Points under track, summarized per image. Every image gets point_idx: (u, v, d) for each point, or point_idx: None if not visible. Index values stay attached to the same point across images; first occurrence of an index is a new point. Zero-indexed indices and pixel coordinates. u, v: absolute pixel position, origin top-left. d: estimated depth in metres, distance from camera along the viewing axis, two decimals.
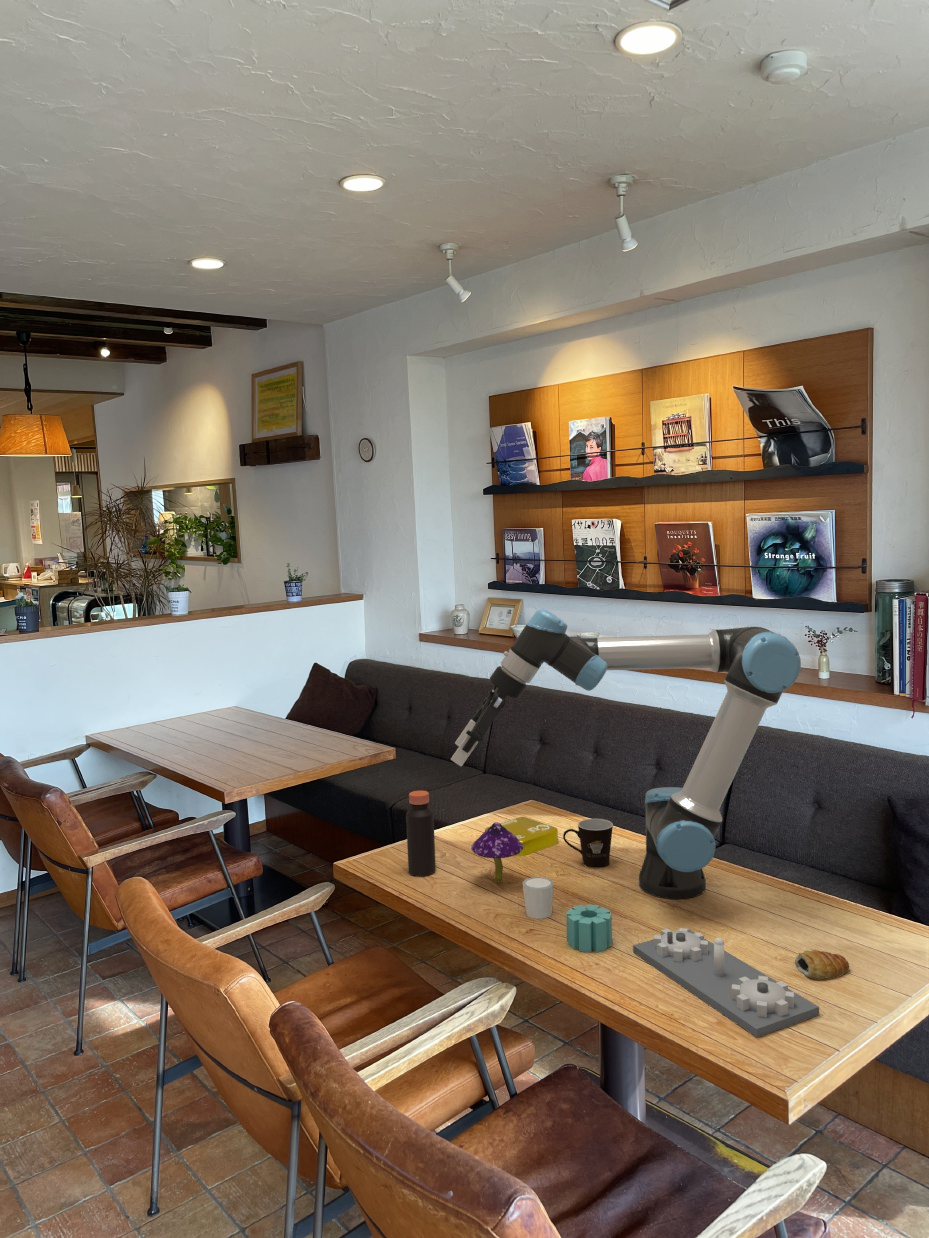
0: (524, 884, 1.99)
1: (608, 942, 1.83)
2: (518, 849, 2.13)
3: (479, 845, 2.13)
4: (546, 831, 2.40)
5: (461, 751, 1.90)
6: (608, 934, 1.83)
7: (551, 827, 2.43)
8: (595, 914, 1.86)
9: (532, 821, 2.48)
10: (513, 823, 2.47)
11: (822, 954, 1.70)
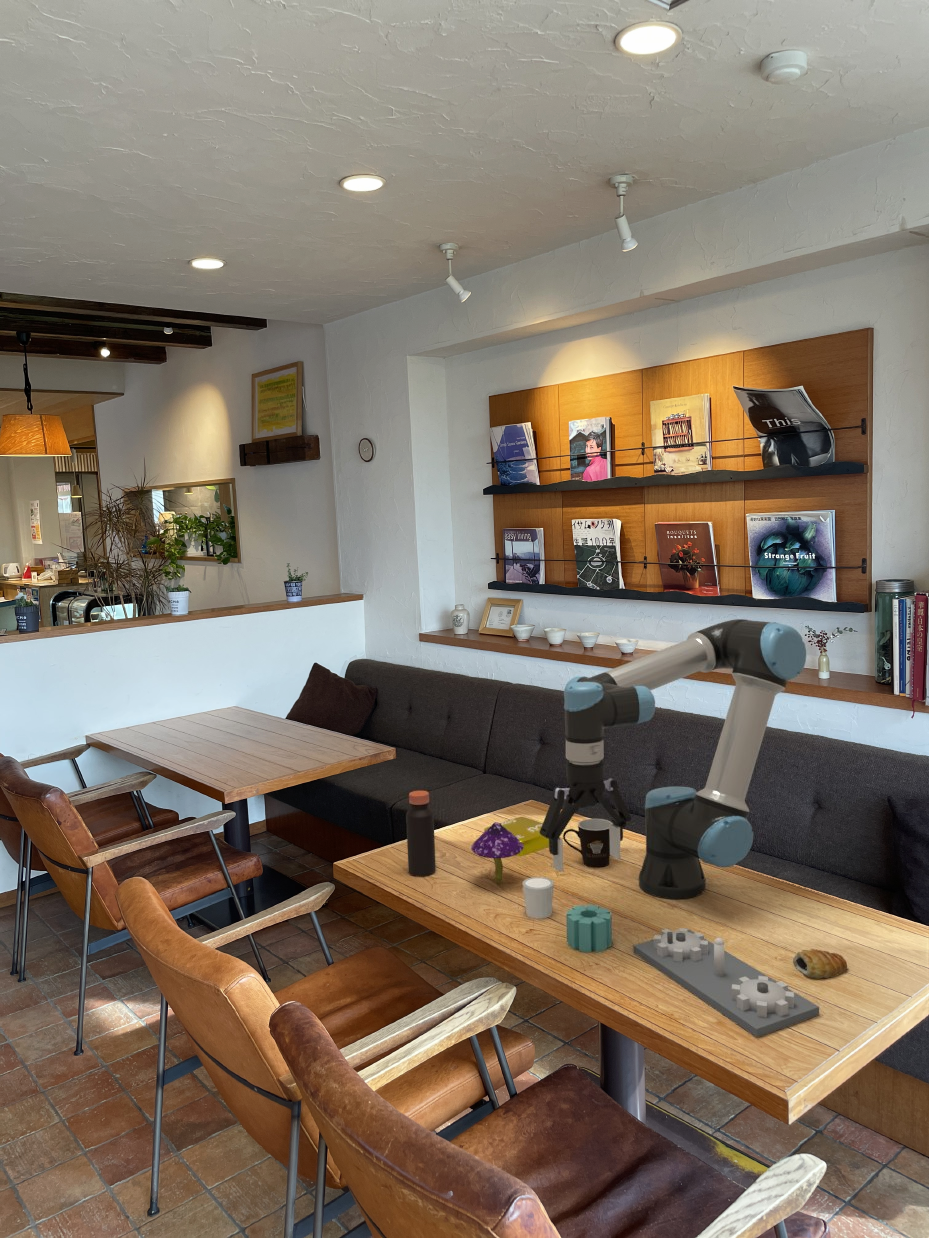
0: (524, 884, 1.99)
1: (608, 942, 1.83)
2: (518, 849, 2.13)
3: (479, 845, 2.13)
4: None
5: None
6: (608, 934, 1.83)
7: None
8: (595, 914, 1.86)
9: (531, 821, 2.48)
10: (512, 823, 2.47)
11: (820, 953, 1.71)
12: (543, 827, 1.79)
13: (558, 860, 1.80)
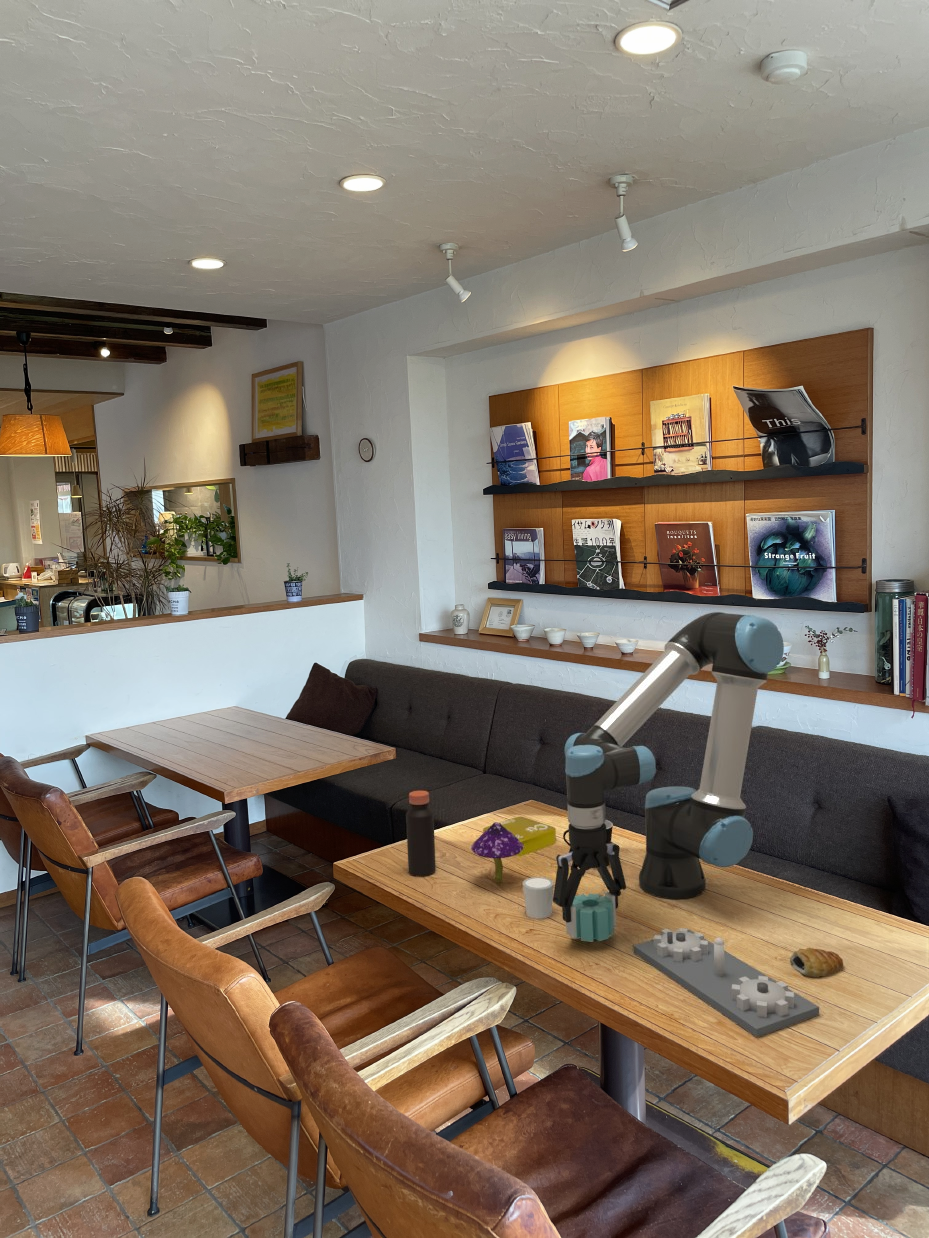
0: (524, 884, 1.99)
1: (610, 931, 1.83)
2: (518, 849, 2.13)
3: (479, 845, 2.13)
4: (544, 831, 2.40)
5: None
6: (609, 923, 1.83)
7: (549, 827, 2.43)
8: (597, 903, 1.86)
9: (530, 821, 2.49)
10: (511, 823, 2.47)
11: (817, 951, 1.71)
12: (555, 896, 1.82)
13: (571, 927, 1.82)
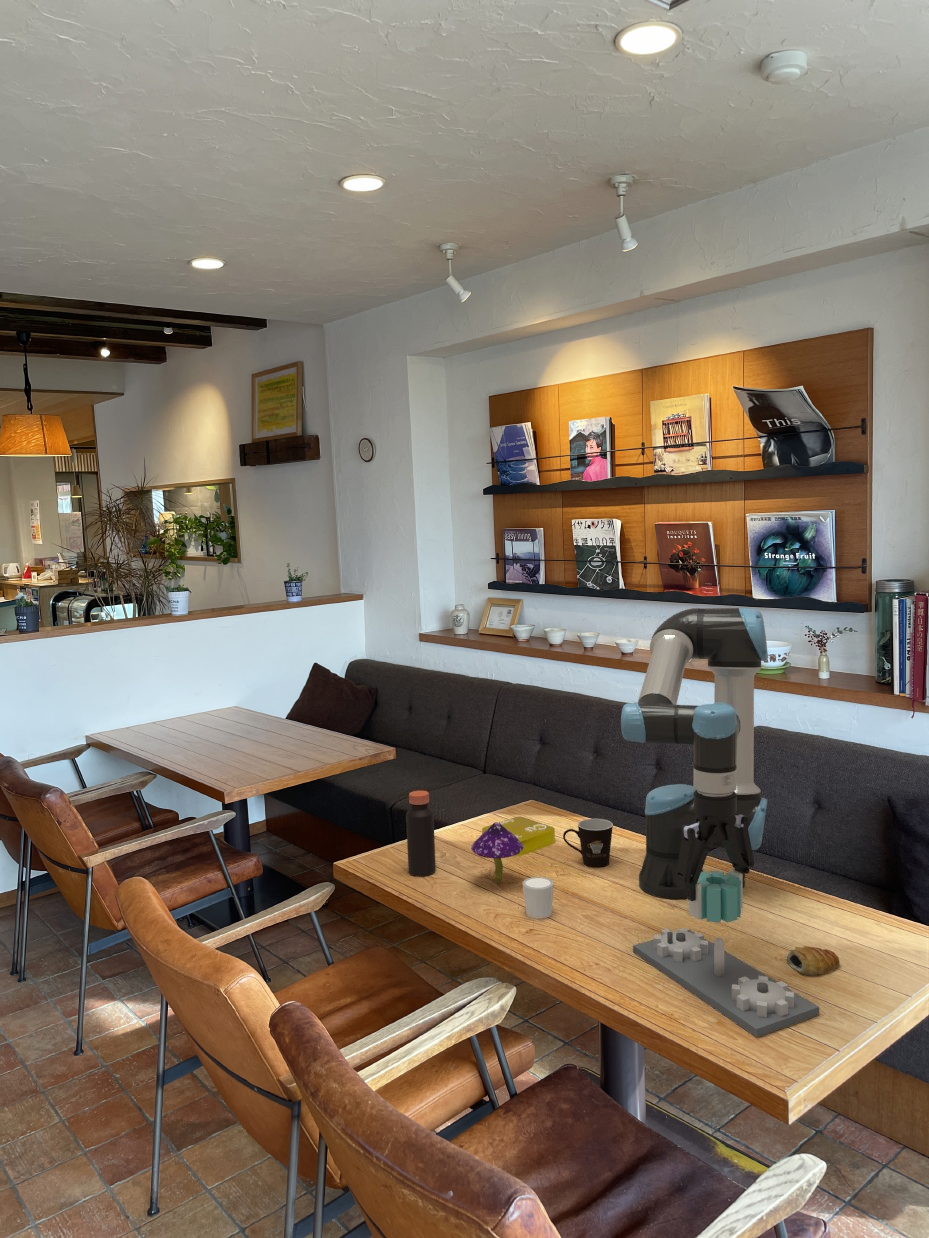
0: (524, 884, 1.99)
1: (738, 912, 1.64)
2: (518, 849, 2.13)
3: (479, 845, 2.13)
4: (543, 831, 2.40)
5: None
6: (738, 903, 1.64)
7: (548, 827, 2.43)
8: (722, 881, 1.67)
9: (529, 821, 2.49)
10: (510, 823, 2.48)
11: (813, 950, 1.72)
12: (679, 871, 1.63)
13: (696, 906, 1.64)
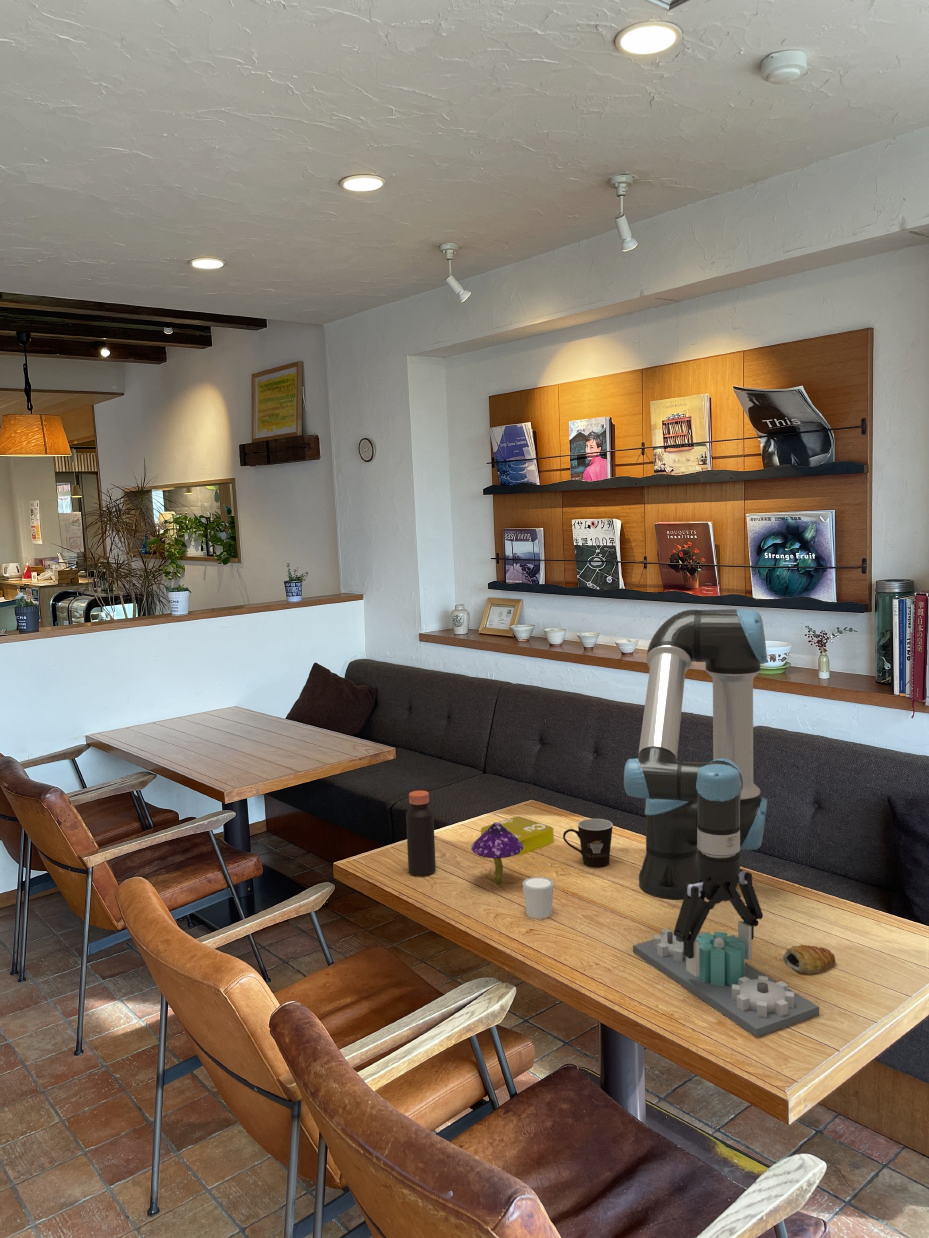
0: (524, 884, 1.99)
1: (742, 974, 1.65)
2: (518, 849, 2.13)
3: (479, 845, 2.13)
4: (542, 830, 2.41)
5: None
6: (742, 965, 1.65)
7: (547, 826, 2.44)
8: (725, 943, 1.68)
9: (528, 820, 2.49)
10: (509, 823, 2.48)
11: (810, 948, 1.73)
12: (677, 928, 1.63)
13: (694, 964, 1.64)
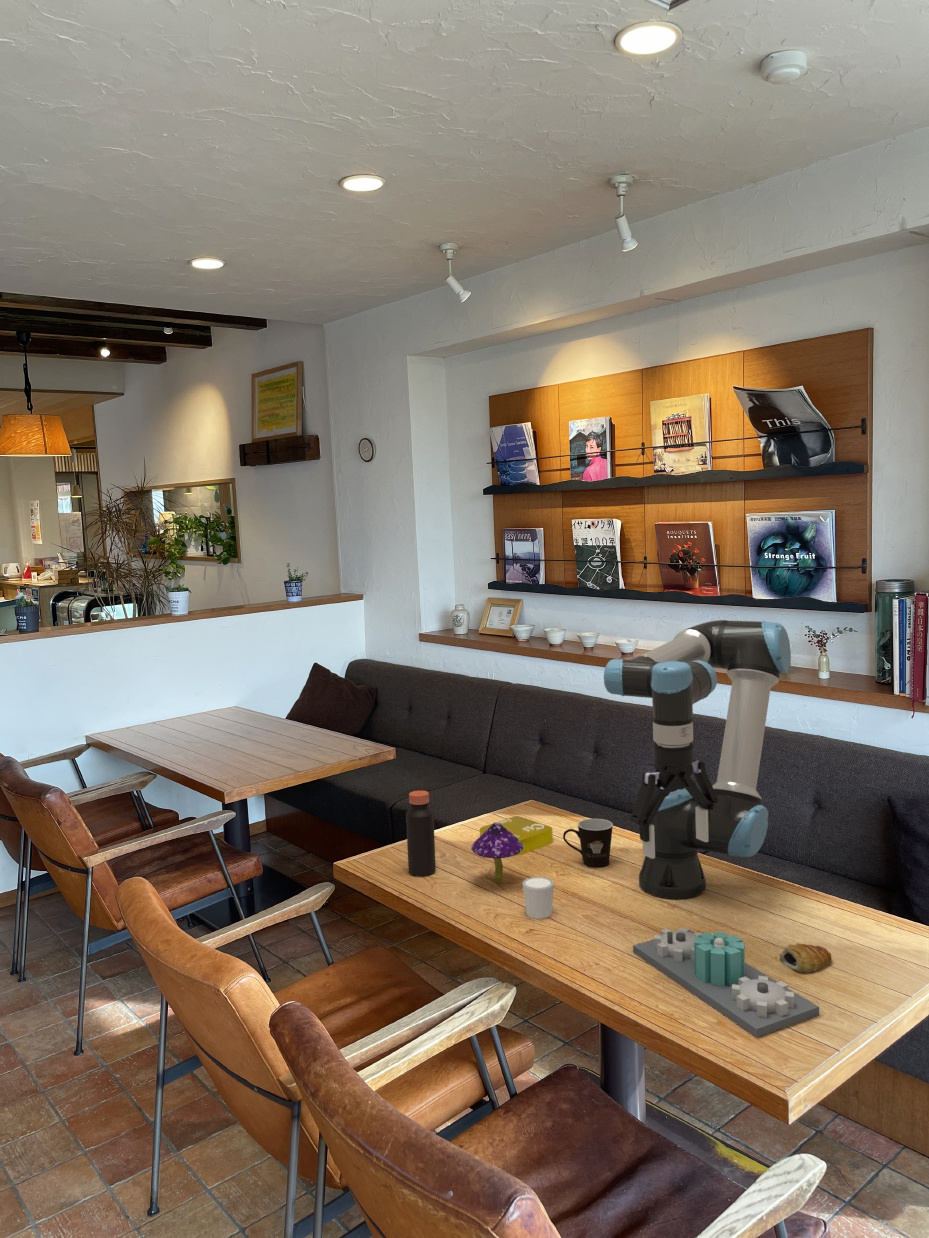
0: (524, 884, 1.99)
1: (742, 974, 1.65)
2: (518, 849, 2.13)
3: (479, 845, 2.13)
4: (541, 830, 2.41)
5: None
6: (742, 965, 1.65)
7: (546, 826, 2.44)
8: (725, 943, 1.68)
9: (527, 820, 2.49)
10: (508, 822, 2.48)
11: (807, 947, 1.73)
12: (634, 813, 1.73)
13: (650, 847, 1.74)
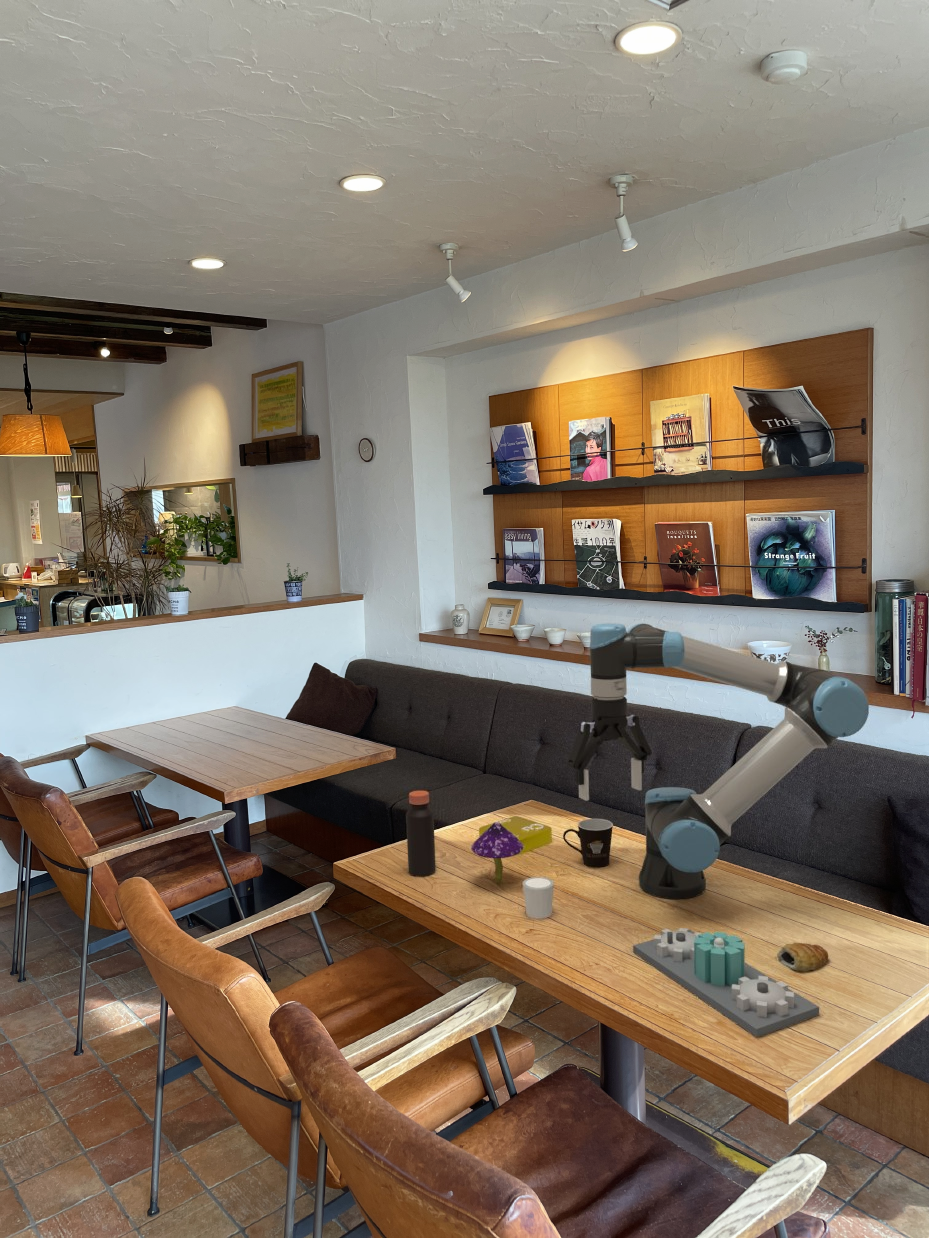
0: (524, 884, 1.99)
1: (742, 974, 1.65)
2: (518, 849, 2.13)
3: (479, 845, 2.13)
4: (540, 830, 2.41)
5: None
6: (742, 965, 1.65)
7: (545, 826, 2.44)
8: (725, 943, 1.68)
9: (526, 820, 2.49)
10: (507, 822, 2.48)
11: (804, 946, 1.74)
12: (570, 758, 1.91)
13: (584, 790, 1.92)
